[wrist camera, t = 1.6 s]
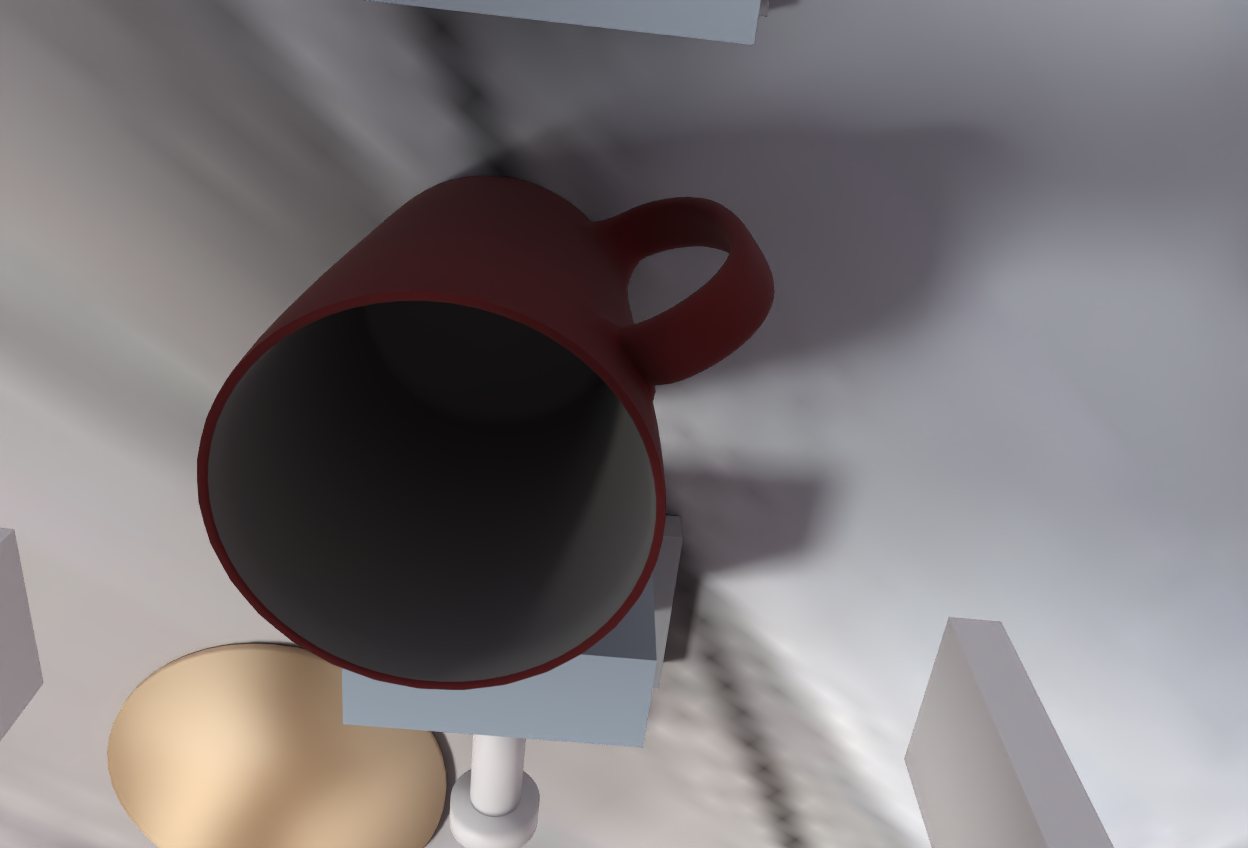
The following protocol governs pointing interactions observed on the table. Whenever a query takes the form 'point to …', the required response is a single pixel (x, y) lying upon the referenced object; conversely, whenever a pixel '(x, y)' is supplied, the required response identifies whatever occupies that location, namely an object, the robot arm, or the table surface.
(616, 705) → the vise
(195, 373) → the table surface
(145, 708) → the coaster
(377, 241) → the mug
